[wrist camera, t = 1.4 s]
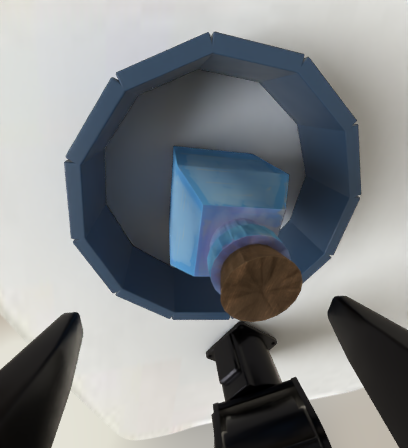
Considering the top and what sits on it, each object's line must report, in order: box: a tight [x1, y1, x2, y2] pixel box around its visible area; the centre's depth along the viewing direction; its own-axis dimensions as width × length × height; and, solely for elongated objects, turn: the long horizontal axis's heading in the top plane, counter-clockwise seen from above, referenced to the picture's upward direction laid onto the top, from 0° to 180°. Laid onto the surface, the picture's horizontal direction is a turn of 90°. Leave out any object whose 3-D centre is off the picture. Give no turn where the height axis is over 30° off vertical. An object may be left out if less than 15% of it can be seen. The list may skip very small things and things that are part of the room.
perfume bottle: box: [169, 146, 303, 322], centre depth 14 cm, size 6×6×12 cm
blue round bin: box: [64, 32, 361, 320], centre depth 17 cm, size 18×18×6 cm
